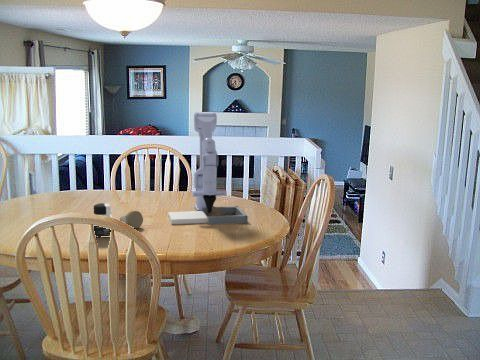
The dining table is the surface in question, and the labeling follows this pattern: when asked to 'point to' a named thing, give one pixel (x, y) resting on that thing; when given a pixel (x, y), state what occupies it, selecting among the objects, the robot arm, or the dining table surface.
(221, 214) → the tile
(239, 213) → the box
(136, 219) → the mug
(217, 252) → the dining table surface
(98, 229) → the medicine bottle
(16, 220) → the dining table surface
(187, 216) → the board
